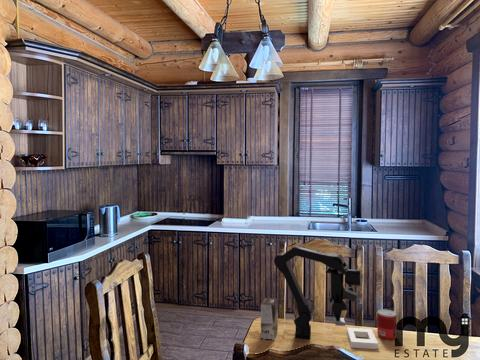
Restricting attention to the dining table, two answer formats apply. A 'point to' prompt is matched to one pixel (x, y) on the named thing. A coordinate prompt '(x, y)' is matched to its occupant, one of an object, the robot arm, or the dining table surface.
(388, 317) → the canned food
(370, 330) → the well
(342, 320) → the bracket
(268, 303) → the coffee box
